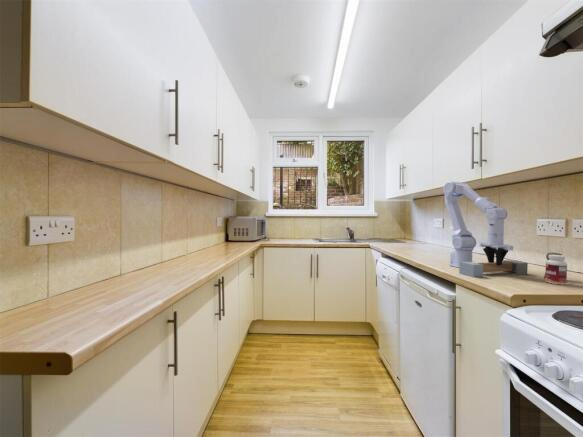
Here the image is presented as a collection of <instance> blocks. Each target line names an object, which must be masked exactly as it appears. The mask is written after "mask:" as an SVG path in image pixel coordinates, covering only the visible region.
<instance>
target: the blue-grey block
mask: <svg viewBox="0 0 583 437" xmlns="http://www.w3.org/2000/svg"><path fill="white" fill-rule="evenodd" d="M478 263H479V262H473V261H472V262H460V264H459V268H458V269H459V270H458V271H459V272H458V273H459V275H463V276H468V277H470V278H471V277H472V278H480V277H482V278H483V277H484V272H483V264H478Z"/></svg>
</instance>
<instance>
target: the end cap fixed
mask: <svg viewBox="0 0 583 437" xmlns="http://www.w3.org/2000/svg"><path fill="white" fill-rule="evenodd" d="M503 262H508V263H512V271H502V272H503V273H510V272H511V273H515V275H517V276H523V275H524V276H525V275H528V268H529V267H528V264H529V263H528V262H525V261H518V260H512V259H509V260H508V259H506V260H505V259H503Z"/></svg>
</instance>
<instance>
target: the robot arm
mask: <svg viewBox="0 0 583 437" xmlns="http://www.w3.org/2000/svg"><path fill="white" fill-rule="evenodd" d="M442 192H443V194H444V203H445V207H446V209H447V212H448V215H449V220H450V222H451V225H452V227H453V231H454V232H453V233H452V235H451V239H452V242H451V244H452V246H453V249H451V251H450V255H449V257H450V260H449V263H450V264H448V266H450V267H454V268H455V267H456V268H458V269H459V264H460V262H473V251H474V248H476V246H477V239H476V238H475V237H474V235H473V233H472V232H471V231H469V230H468V228H467V227H466V226H467V225H466V223H465V221H464V218H463V215H462V212H461V209H460V205H459V203H458V201H459V200H460V199H461V198H462V197H463V196H465V197H467V198H468V199H470V200H471V201H472V202H474V205H475V206H474V207H476V208H477V209H478V210H480V211H481V212H482V213H483V214H484V216H485V218H486V219H487V220H486V221H487V223H488V224H487V226H488V227H487V231H488V232H487V242H481V241H480V242H479V247H480V248H481V247H482V251H483V252H484V254H485V255H486V258H487V263H489V262H496V265H502V262H503V260H505V257H506V256H507V253H509V251H514V245H509V244H505V243H504V239H505V237H504V235H505V232H504V230H505V220H506V219H507V217H508V211H507V210H506V209H505V208H504V207H499V206H498V204H496V203H494V202H492V200H491V198H489V197H485V196H484V197H483V196H482V197H481V196H480V195H479V193H477V192H476V191H475V190H473V189H472V188H471V187H470V185H469V184H467V183H466V182H464V181H452V180H449V181H447V182H445V184H444V186H443V188H442Z"/></svg>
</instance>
